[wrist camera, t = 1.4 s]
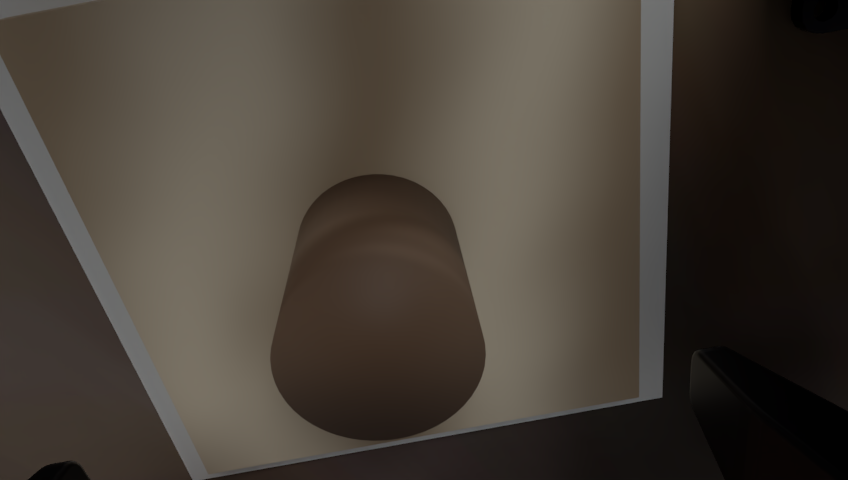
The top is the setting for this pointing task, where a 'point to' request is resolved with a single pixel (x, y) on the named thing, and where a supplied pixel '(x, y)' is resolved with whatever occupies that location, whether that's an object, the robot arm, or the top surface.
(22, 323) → the top surface
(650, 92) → the mat
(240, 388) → the cover
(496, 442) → the top surface
